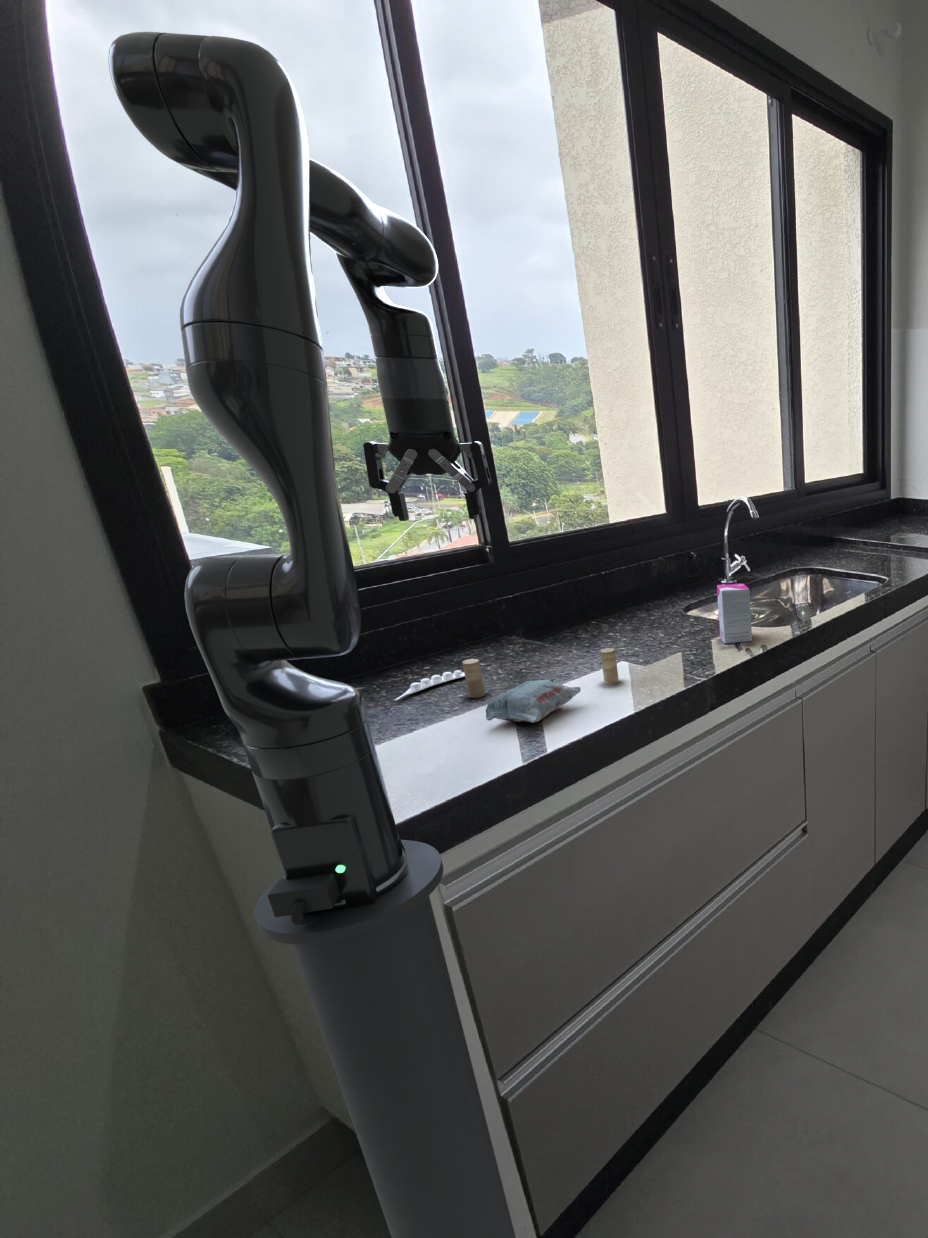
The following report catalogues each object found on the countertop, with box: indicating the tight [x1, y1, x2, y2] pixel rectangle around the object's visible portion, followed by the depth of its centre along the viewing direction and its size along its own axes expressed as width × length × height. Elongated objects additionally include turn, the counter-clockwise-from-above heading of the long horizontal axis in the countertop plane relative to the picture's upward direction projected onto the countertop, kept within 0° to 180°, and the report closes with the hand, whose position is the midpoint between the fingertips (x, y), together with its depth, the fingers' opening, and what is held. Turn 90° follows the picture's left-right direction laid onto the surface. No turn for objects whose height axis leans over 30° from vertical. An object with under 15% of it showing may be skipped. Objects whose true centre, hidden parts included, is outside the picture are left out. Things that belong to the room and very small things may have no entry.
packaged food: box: [485, 679, 581, 724], centre depth 114 cm, size 9×12×5 cm
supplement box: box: [716, 583, 753, 646], centre depth 150 cm, size 6×6×12 cm
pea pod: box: [394, 669, 465, 702], centre depth 126 cm, size 15×4×2 cm, turn 151°
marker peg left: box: [462, 658, 486, 699], centre depth 122 cm, size 2×2×6 cm
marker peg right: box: [599, 647, 620, 685], centre depth 128 cm, size 2×2×6 cm
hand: (439, 519), depth 103 cm, fingers open, 8 cm apart
